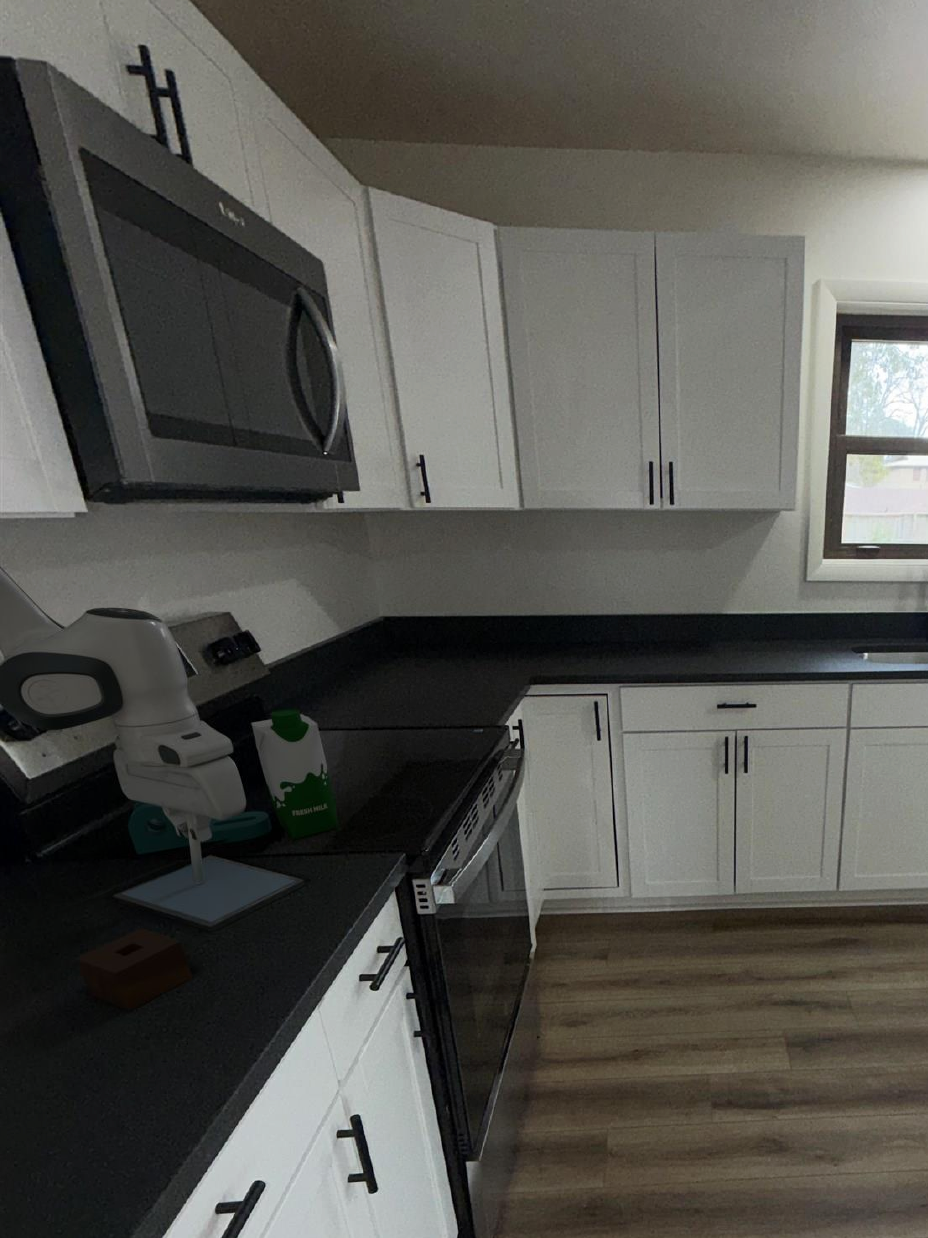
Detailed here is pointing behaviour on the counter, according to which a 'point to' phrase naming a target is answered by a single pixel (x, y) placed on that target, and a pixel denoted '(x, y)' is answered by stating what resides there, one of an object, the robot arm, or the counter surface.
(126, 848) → the counter surface
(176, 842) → the bracket
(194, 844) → the stylus
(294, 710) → the milk carton
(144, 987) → the pen holder
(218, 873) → the plate
